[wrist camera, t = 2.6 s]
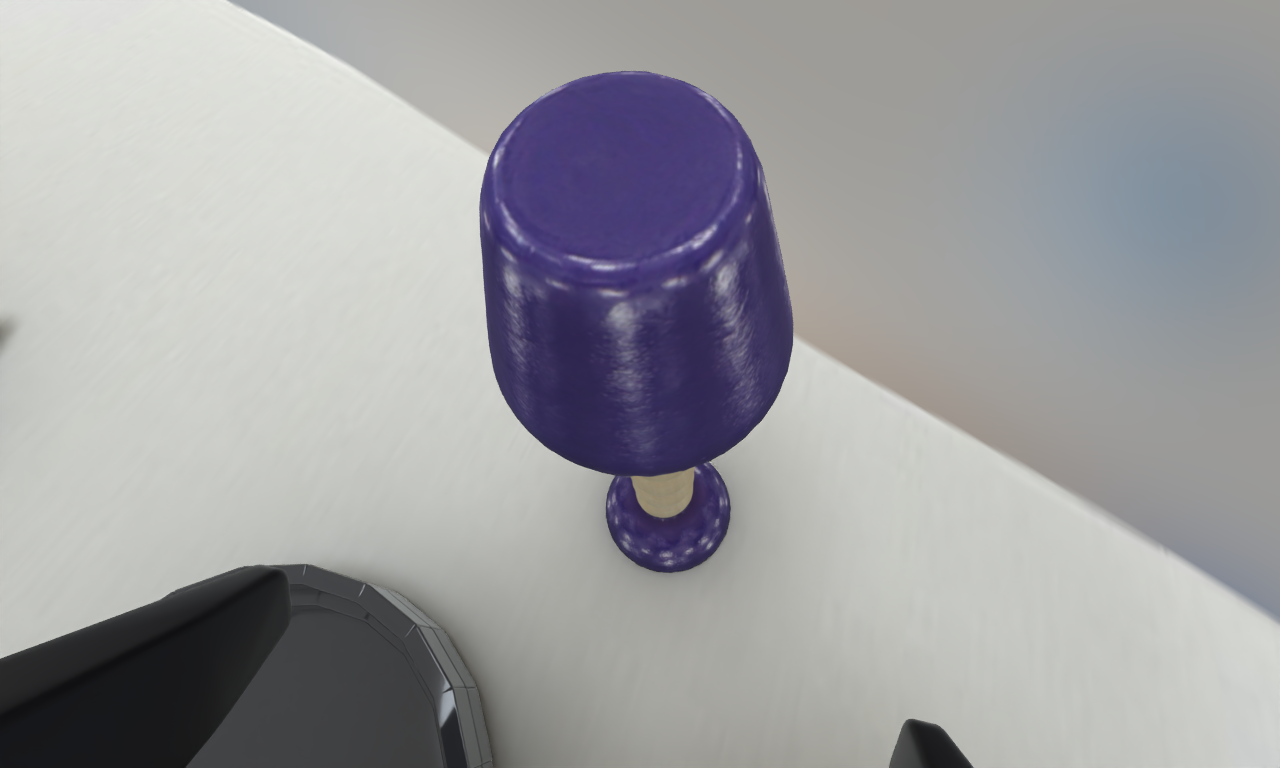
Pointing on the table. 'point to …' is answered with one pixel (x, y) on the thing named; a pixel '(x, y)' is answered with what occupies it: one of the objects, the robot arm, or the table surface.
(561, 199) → the toy lamp
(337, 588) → the pan
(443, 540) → the table surface
